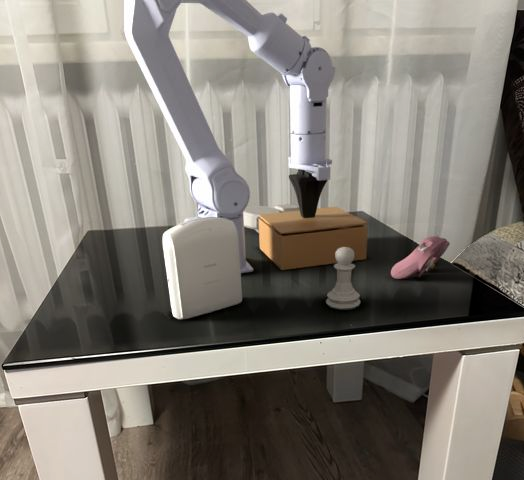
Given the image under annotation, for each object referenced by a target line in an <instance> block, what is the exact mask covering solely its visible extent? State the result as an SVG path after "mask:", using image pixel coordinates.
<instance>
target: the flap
mask: <svg viewBox="0 0 524 480" xmlns="http://www.w3.org/2000/svg"><path fill="white" fill-rule="evenodd" d="M348 214H350V212H348V211H345V210H344V209H342V208H340V207H338V206H328V207H320V208H318V207H317V210H316V214H315V217H311V218H303V217H301V214H300V210H299V211H289V212H280V213H270V214H261V215H259V217H260V218H262V219H263V220H264V221H265V222H266V223H267V224H269V223H275V222H284V221H293V220H303V219H312V218H321V217H330V216H339V215H348Z"/></svg>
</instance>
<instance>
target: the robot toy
mask: <svg viewBox="0 0 524 480" xmlns="http://www.w3.org/2000/svg"><path fill="white" fill-rule="evenodd" d="M289 211H299V206H298V205H295V204H288V203H287V204H278V205H275V206H274V207H270V206H266V205H258V204H255V205H247V207H246V208H245V209H244V211H243V216H244V228H247V229H250V230H254V231H256V232H257V233H258V234H259V219H260V217H259V215H261V214H270V213H280V212H289Z"/></svg>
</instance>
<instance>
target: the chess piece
mask: <svg viewBox="0 0 524 480" xmlns="http://www.w3.org/2000/svg"><path fill="white" fill-rule="evenodd" d="M335 258H336V261H337V262H338V263H334V264H333V268H334V269H335V270H336V283H335V285H334V287H333V288H332V289H331V290H330V291H328V292H327V294H326V296H327V298H326V299H325V303H326V305H327V306H328V307H329V308H332V309H333V310H340V311H346V310H347V311H348V310H353V309H356V308H358V307H359V306H360V304H361V300H360V297H361V296H360V295H361V294H360V293H359V292H358V291H356V290H355V288H354V287H353V283H352V281H351V280H352V270H353V269H354V268H356V265H355V264H354V263H352V262H354V261H353V259H354V251H353V250H352V249H351V248H349V247H341V248H339V249H337V251H336V253H335Z"/></svg>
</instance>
